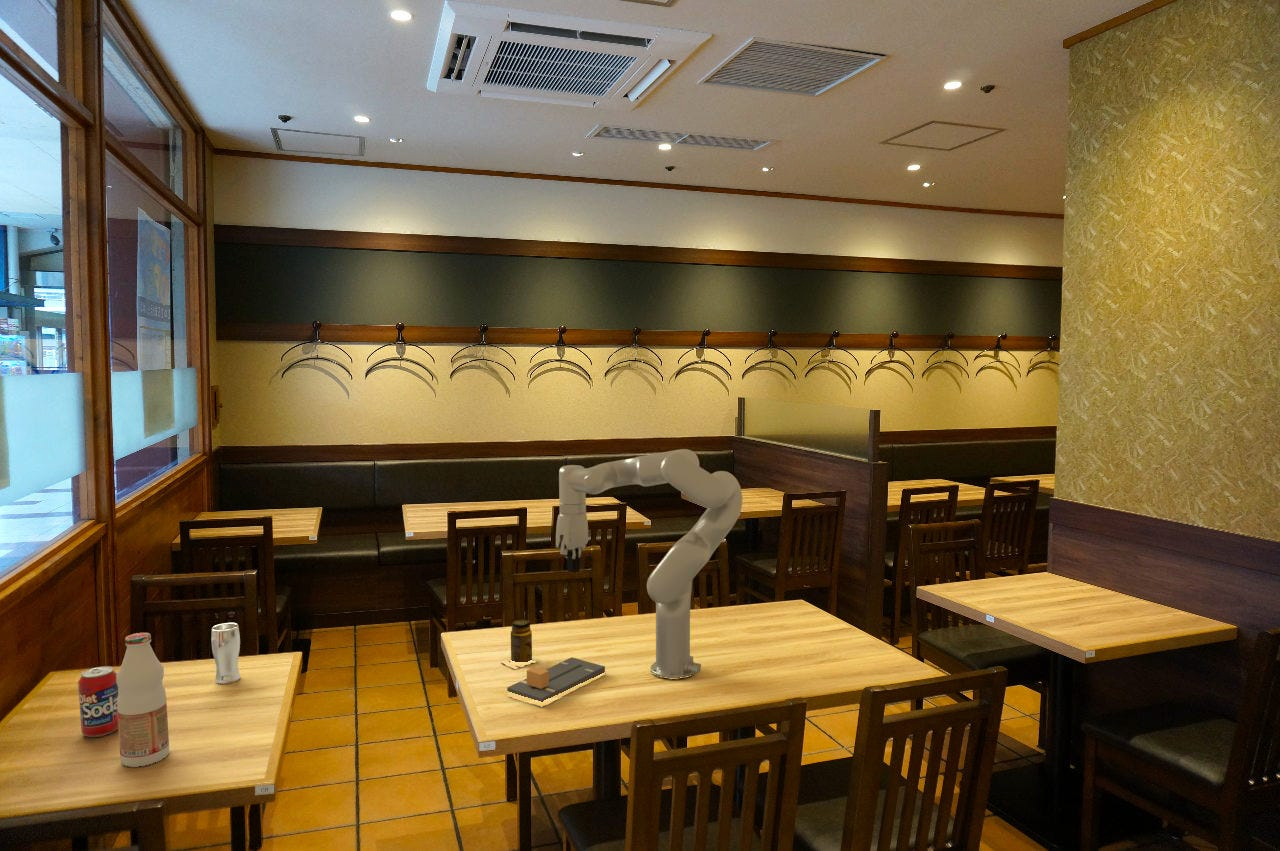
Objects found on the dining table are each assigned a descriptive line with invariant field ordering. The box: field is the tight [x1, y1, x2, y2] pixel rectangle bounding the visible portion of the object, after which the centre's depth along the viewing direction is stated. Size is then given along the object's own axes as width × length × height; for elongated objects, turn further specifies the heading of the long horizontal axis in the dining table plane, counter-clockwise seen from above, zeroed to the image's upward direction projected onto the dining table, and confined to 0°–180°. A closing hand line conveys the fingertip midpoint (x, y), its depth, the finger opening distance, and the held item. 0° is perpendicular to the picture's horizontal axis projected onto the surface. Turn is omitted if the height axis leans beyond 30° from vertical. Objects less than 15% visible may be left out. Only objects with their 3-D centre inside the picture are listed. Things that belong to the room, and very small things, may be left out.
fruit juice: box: [116, 632, 170, 768], centre depth 186 cm, size 9×9×28 cm
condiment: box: [510, 619, 533, 662], centre depth 243 cm, size 7×8×12 cm
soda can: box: [77, 665, 119, 738], centre depth 200 cm, size 8×8×15 cm
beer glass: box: [211, 622, 241, 685], centre depth 231 cm, size 7×7×15 cm
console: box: [506, 656, 606, 702], centre depth 227 cm, size 26×12×3 cm, turn 145°
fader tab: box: [526, 666, 549, 689], centre depth 220 cm, size 3×5×4 cm, turn 55°
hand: (573, 571), depth 243 cm, fingers closed
